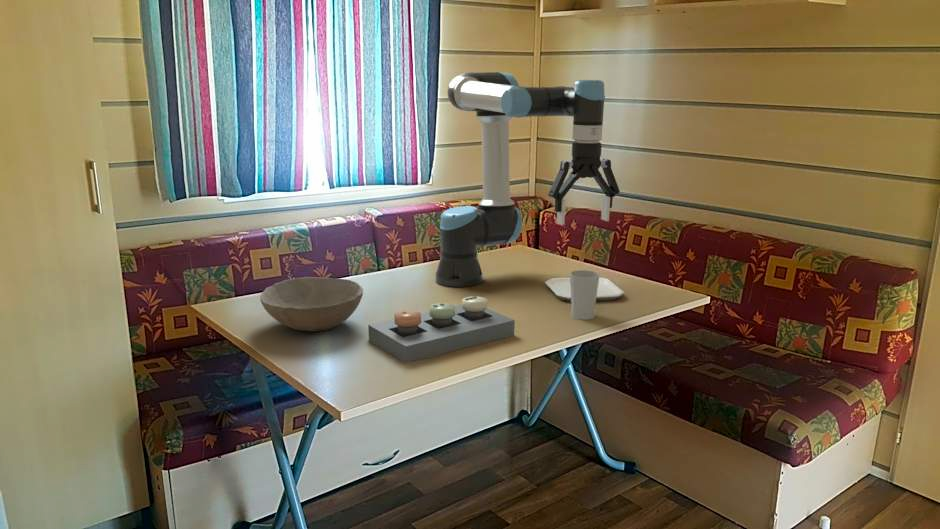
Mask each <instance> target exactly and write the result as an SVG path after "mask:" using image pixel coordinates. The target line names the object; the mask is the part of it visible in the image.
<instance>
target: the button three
mask: <svg viewBox="0 0 940 529" xmlns="http://www.w3.org/2000/svg"><path fill="white" fill-rule="evenodd" d="M461 302H462V303H461V305H462V309H464V310H465V319H468V320H470V321H475V320H479V319H483V318H484V310H486V309H488V299H487V298H486V297H482V296H467V297H464V298H462V300H461Z"/></svg>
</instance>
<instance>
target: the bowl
mask: <svg viewBox="0 0 940 529" xmlns="http://www.w3.org/2000/svg"><path fill="white" fill-rule="evenodd" d="M363 295H364V288H363V287H362V285H360V284H359V283H358V282H356V281H353V280H350V279H344V278H331V277H319V276H318V277H314V276H305V277H295V278H290V279H285V280H282V281H280V282H276V283H274V284H273V285H271V286H268V287H266V288H265V289H264V290H263V291H262V292H261V294H260V297H259V298H260V300H259V301H260V303H261V305H262V307H263V309H264V310H265V311H266V312H267V313H268V314H269V316H271V317H272V318H273V319H274V320H275V321H276V322H278V323H280V324H281V325H283V326H285V327H288V328H290V329H293V330H297V331H299V332H300V331H301V332H305V331H307V332H318V331H319V332H321V331H323V330H324V331H326V330H330V329H332V328H334V327H336V326H338V325H341V324H342V323H344V322H345V321H346V320H348V318H350V316H352V314H354V313H355V311H356V310H357V308H358V307H359V305H360V303H361V300H362V298H363Z"/></svg>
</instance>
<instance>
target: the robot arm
mask: <svg viewBox="0 0 940 529" xmlns="http://www.w3.org/2000/svg"><path fill="white" fill-rule="evenodd" d="M447 98H448V100H449V102H450V104H451V105H452V106H453V107H455V108H456V109H458V110H460V111H465V112H475V114H476V119H478V120H479V122H480V125H481V126H480V127H481V158H482V159H481V160H482V162H481V163H482V164H481V166H482V167H481V168H482V169H481V170H482V199H481V200H480V201H479V202H478V208H477V207H476V206H473V205H465V206H464V205H463V206H455V207H450V208H448V209H446V210H444V211H443V213H441V216H440V224H439V229H440V258H439V262H438V265H437V268H436V271H435V279H434V280H435V282H436V283H437V284H439V285H441V286H445V287H455V288H462V287H463V288H464V287H465V288H466V287H473V286H477V285H480V284H481V283H483V280H484V279H483V278H484V276H483V271H482V268H481V265H480V262H479V259H478V248H479V247H480V248H481V247H489V246H496V245H501V246H504V245H506V244H511V243H514V242H515V241H517V239H518V238H519V237H520V235H521V232H522V229H523V217H522V214H521V210H519V208H518V207H515V204H516V203H515V201H514V200H512V199H511V194H510V193H511V192H510V191H511V190H510V188H511V187H510V186H511V185H510V182H511V181H510V128H509V124H510V121H511V120H512V118H525V117H526V118H529V117H530V118H531V117H533V118H534V117H573V122H572V123H573V124H572V140H573V142H572V145H571V157H572V159H571V161H565V160H561V161H560V166H559V170H558V172H557V174H556V176H555V178H554V181H553V183H552V185H551V187H550V190H549V191H548V194H547V195H548V197H550V198H553V199H554V212H556V224H558V225H561V226H565V220H566V219H565V217H566V216H565V215H566V199H564V198H565V197H566V195H567V194H568V192H569V191H570V190H571V188H572V187H573V186H574V184H575V183H576V182H577V181H578V180H580V178H581V179H586V178H593V179H594V180H595V182H596V183H597V184H598V186H599V187H600V189H601V190H602V192H603V193H604V195H602V197H601V211H600V212H601V213H600V214H601V216H600V220H602V221H605V222H610V211H611V210H610V209H612V207H613V198H615V197H616V195H619V194H620V188H619V186H618V183H617V180H616V178H615V175H614V172H613V170H612V169H613V168H612V161H611V160H610V159H607V158H603V159H601V156H602V146H603V145H602V142H600V141H602V140H603V122H604V112H605V111H604V109H605V106H604V105H605V98H606V96H605V83H604V81H603V80H600V79H599V80H598V79H578V80H576V81H575V82H574V87H571V86H563V85H562V86H559V85H558V86H540V87H537V86H536V87H535V86H520V85H519V82H518V81H517V79H516V78H515V77H514V75H513V74H510V73H509V72H502V71H501V72H500V71H496V72H495V71H493V72H492V71H491V72H472V71H471V72H470V71H469V72H463V73H460V74H458V75H456V76H455V77H453V79H452V80H451V81H450V82H449V84H448V87H447ZM600 167H601V168H602V172H603V174H604V177H605V178H604V177H603V174H602V173H601V171H600V170H599V169H600ZM571 169H572V170H571ZM569 170H571V171H570V173H569ZM568 173H569V174H568ZM567 175H568V176H567ZM566 178H567V179H566ZM605 179H606V180H605Z"/></svg>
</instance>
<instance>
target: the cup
mask: <svg viewBox="0 0 940 529" xmlns="http://www.w3.org/2000/svg"><path fill="white" fill-rule="evenodd" d="M599 277H600V273H598V272H597V271H594V270H588V269H587V270H586V269H578V270H572V271H570V272H569V278H570V285H571V301H570V303H571V304H570V305H571V309H570V310H571V312H570V317H571V318H573V319H575V320H583V321H585V320H587V321H588V320H592V319H594V318H595V310H596V304H597V301H596V296H597V288H598V282H599Z"/></svg>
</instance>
